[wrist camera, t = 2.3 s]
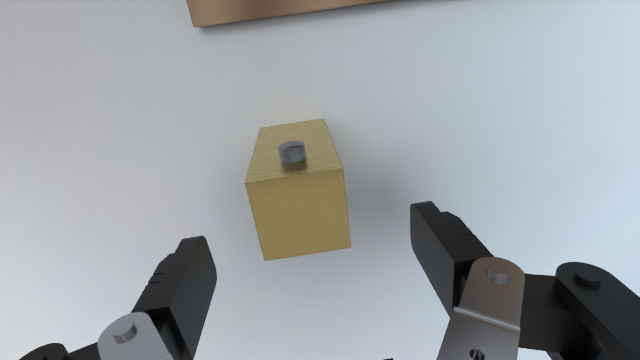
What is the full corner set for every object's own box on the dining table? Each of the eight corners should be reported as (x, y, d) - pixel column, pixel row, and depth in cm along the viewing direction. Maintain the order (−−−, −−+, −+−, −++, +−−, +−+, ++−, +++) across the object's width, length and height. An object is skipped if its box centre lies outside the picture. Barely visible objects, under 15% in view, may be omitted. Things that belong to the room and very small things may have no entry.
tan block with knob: (273, 192, 22) (267, 271, 15) (258, 118, 20) (241, 169, 13) (331, 183, 22) (352, 257, 15) (322, 109, 20) (341, 154, 13)
